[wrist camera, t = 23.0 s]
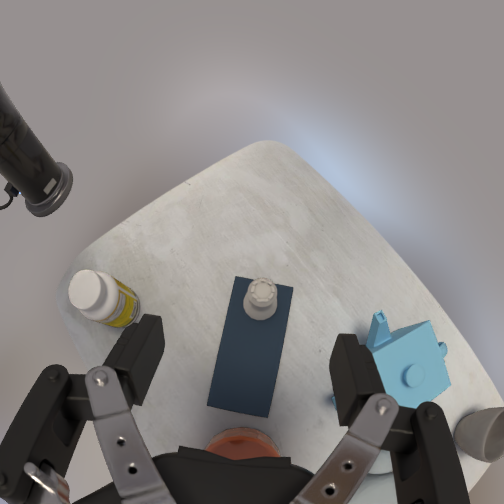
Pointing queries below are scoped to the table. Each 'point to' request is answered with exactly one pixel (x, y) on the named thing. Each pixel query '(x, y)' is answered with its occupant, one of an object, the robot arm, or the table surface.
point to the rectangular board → (249, 354)
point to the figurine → (377, 483)
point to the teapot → (408, 361)
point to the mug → (482, 434)
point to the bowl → (242, 444)
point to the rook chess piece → (261, 299)
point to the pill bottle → (103, 298)
